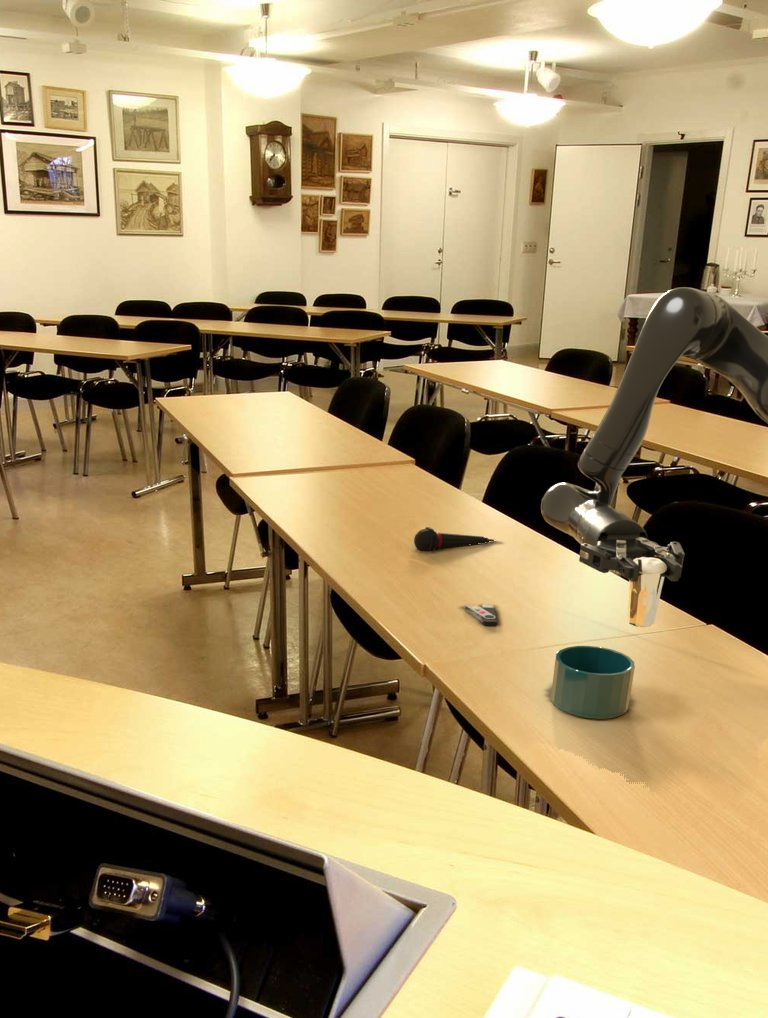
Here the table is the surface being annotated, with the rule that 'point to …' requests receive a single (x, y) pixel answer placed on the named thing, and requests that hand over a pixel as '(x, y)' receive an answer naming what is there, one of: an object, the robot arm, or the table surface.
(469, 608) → the usb flash drive
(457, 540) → the microphone
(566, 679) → the bowl
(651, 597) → the milkshake
